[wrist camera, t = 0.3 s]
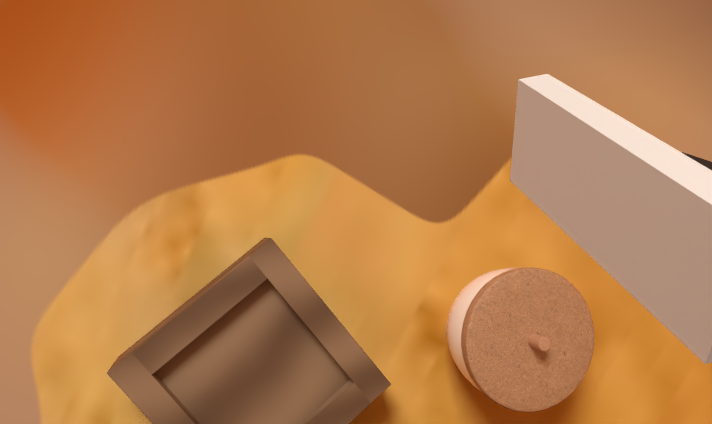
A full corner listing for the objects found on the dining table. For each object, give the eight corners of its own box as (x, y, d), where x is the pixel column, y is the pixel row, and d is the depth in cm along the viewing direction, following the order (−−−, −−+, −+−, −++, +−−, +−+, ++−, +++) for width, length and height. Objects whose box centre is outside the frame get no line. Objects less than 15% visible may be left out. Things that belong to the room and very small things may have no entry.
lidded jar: (503, 408, 52) (566, 446, 43) (405, 346, 50) (448, 373, 41) (561, 302, 53) (633, 317, 44) (468, 239, 51) (523, 241, 42)
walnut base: (372, 368, 49) (391, 384, 44) (238, 490, 46) (242, 523, 41) (264, 237, 47) (271, 238, 42) (118, 356, 44) (106, 373, 39)
